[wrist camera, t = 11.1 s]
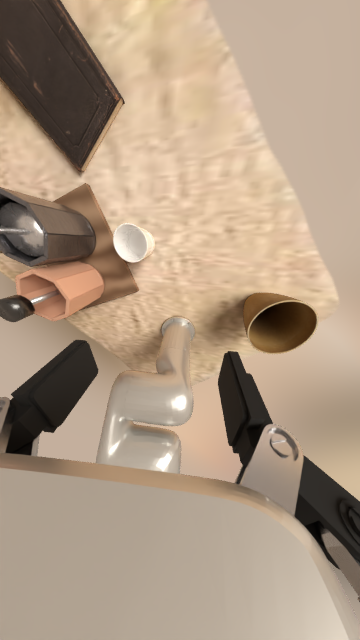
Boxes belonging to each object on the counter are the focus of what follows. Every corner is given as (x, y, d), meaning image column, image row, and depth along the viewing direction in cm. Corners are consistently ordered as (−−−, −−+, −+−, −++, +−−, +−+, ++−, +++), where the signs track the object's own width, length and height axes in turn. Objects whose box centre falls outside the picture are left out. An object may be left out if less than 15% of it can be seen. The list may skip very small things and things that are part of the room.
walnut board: (139, 289, 48) (137, 291, 46) (82, 308, 53) (79, 310, 52) (89, 185, 36) (85, 183, 34) (22, 223, 41) (16, 222, 39)
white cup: (153, 262, 43) (143, 267, 34) (128, 252, 42) (111, 255, 34) (160, 233, 39) (150, 230, 31) (132, 222, 39) (114, 217, 30)
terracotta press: (111, 292, 47) (79, 313, 34) (76, 304, 51) (33, 327, 37) (91, 256, 42) (43, 263, 29) (53, 272, 46) (-6, 285, 32)
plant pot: (249, 273, 43) (277, 289, 29) (290, 292, 44) (335, 316, 30) (223, 314, 50) (235, 342, 36) (259, 329, 51) (284, 362, 37)
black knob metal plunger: (98, 293, 44) (41, 325, 27) (76, 301, 46) (10, 335, 29) (81, 264, 40) (1, 281, 23) (57, 274, 42) (-32, 296, 25)
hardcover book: (85, 174, 35) (78, 170, 33) (-16, 53, 28) (-32, 38, 26) (126, 104, 29) (121, 94, 27) (11, -74, 22) (-7, -106, 20)
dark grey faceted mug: (104, 249, 41) (60, 253, 28) (64, 266, 44) (8, 277, 31) (79, 200, 36) (10, 176, 22) (36, 223, 39) (-46, 214, 26)
